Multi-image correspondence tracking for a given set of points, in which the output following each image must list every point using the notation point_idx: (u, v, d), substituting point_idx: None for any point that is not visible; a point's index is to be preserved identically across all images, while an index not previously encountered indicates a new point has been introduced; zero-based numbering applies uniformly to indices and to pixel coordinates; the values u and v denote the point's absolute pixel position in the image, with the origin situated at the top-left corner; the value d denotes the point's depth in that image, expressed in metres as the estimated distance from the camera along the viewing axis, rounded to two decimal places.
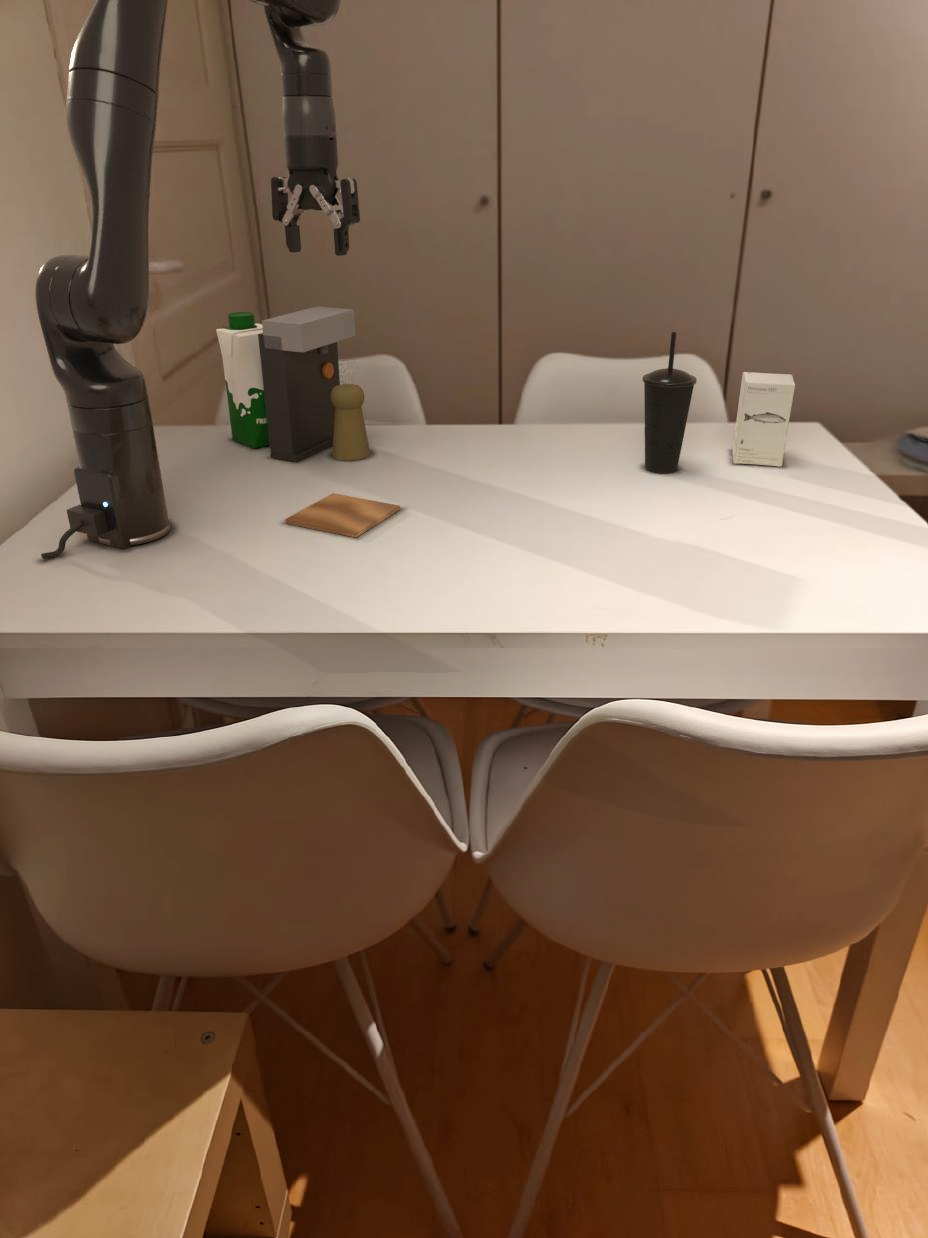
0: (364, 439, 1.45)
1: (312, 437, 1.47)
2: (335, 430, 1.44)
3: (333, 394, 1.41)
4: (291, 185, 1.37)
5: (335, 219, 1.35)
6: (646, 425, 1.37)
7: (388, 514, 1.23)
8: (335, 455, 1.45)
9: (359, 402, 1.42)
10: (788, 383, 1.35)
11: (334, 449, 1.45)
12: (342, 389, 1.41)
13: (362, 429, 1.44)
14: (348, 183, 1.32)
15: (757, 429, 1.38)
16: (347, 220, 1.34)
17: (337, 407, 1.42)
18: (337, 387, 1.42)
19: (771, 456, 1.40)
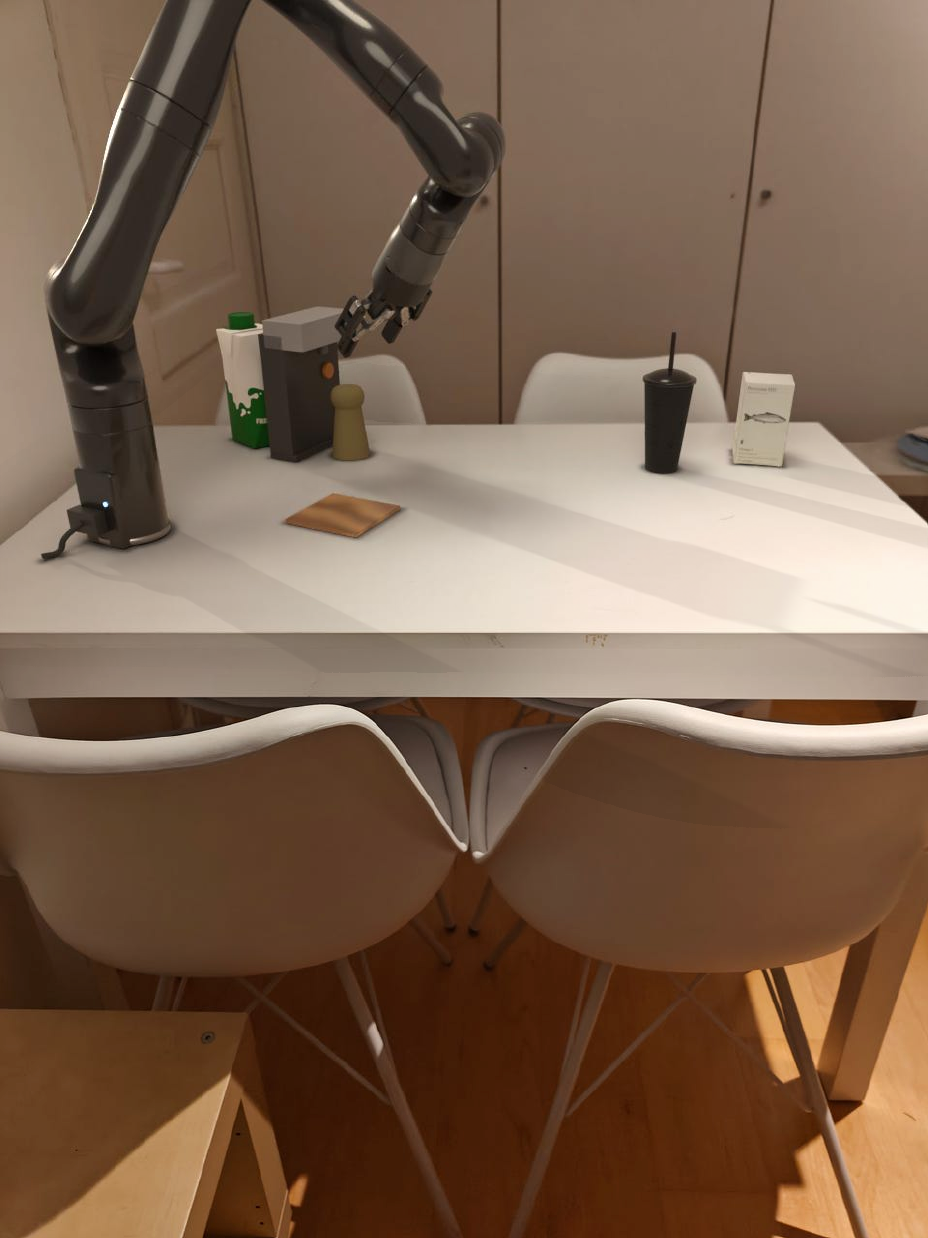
0: (364, 439, 1.45)
1: (312, 437, 1.47)
2: (335, 430, 1.44)
3: (333, 394, 1.41)
4: None
5: None
6: (646, 425, 1.37)
7: (388, 514, 1.23)
8: (335, 455, 1.45)
9: (360, 402, 1.42)
10: (788, 383, 1.35)
11: (334, 449, 1.45)
12: (342, 389, 1.41)
13: (362, 429, 1.44)
14: (350, 301, 1.20)
15: (757, 429, 1.38)
16: (336, 324, 1.24)
17: (337, 407, 1.42)
18: (337, 387, 1.42)
19: (771, 456, 1.40)
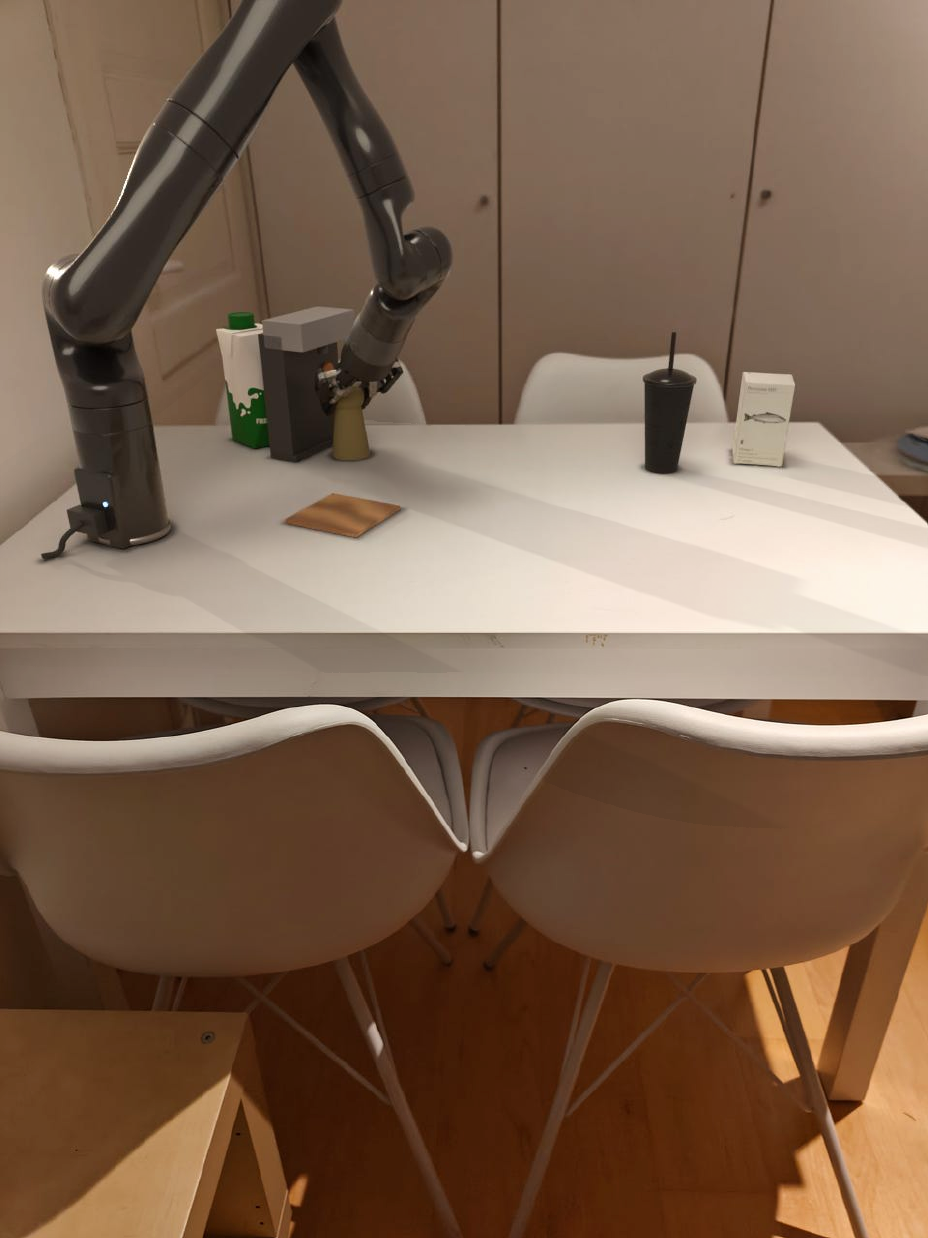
0: (364, 439, 1.45)
1: (312, 437, 1.47)
2: (335, 430, 1.44)
3: None
4: None
5: None
6: (646, 425, 1.37)
7: (388, 514, 1.23)
8: (335, 455, 1.45)
9: (360, 402, 1.42)
10: (788, 383, 1.35)
11: (334, 449, 1.45)
12: None
13: (362, 429, 1.44)
14: (316, 373, 1.34)
15: (757, 429, 1.38)
16: None
17: (337, 407, 1.42)
18: None
19: (771, 456, 1.40)
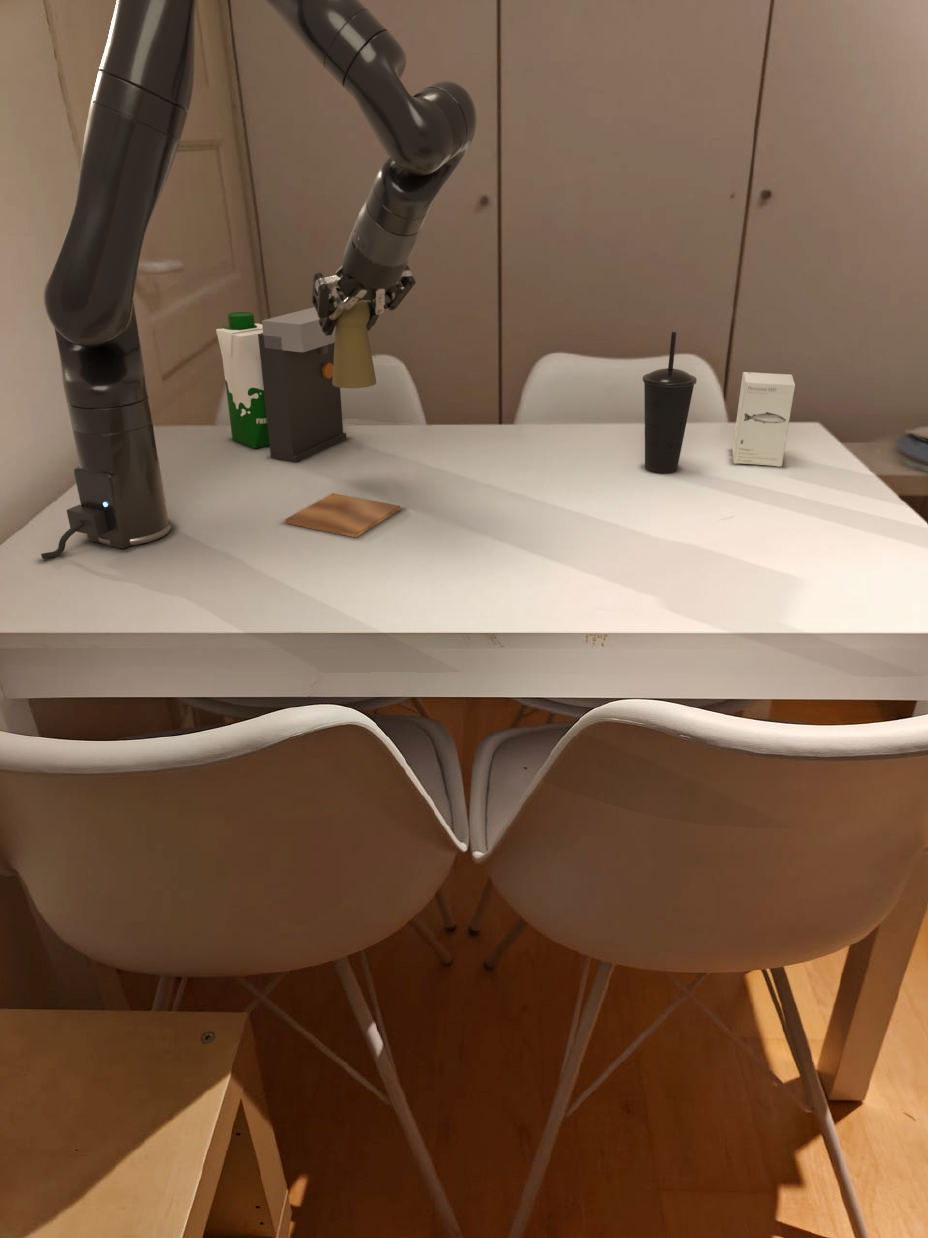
0: (369, 363, 1.25)
1: (312, 437, 1.47)
2: (336, 353, 1.24)
3: None
4: None
5: None
6: (646, 425, 1.37)
7: (388, 514, 1.23)
8: (336, 383, 1.25)
9: (365, 319, 1.22)
10: (788, 383, 1.35)
11: (335, 376, 1.25)
12: None
13: (367, 352, 1.24)
14: (314, 279, 1.14)
15: (757, 429, 1.38)
16: None
17: (338, 325, 1.22)
18: None
19: (771, 456, 1.40)
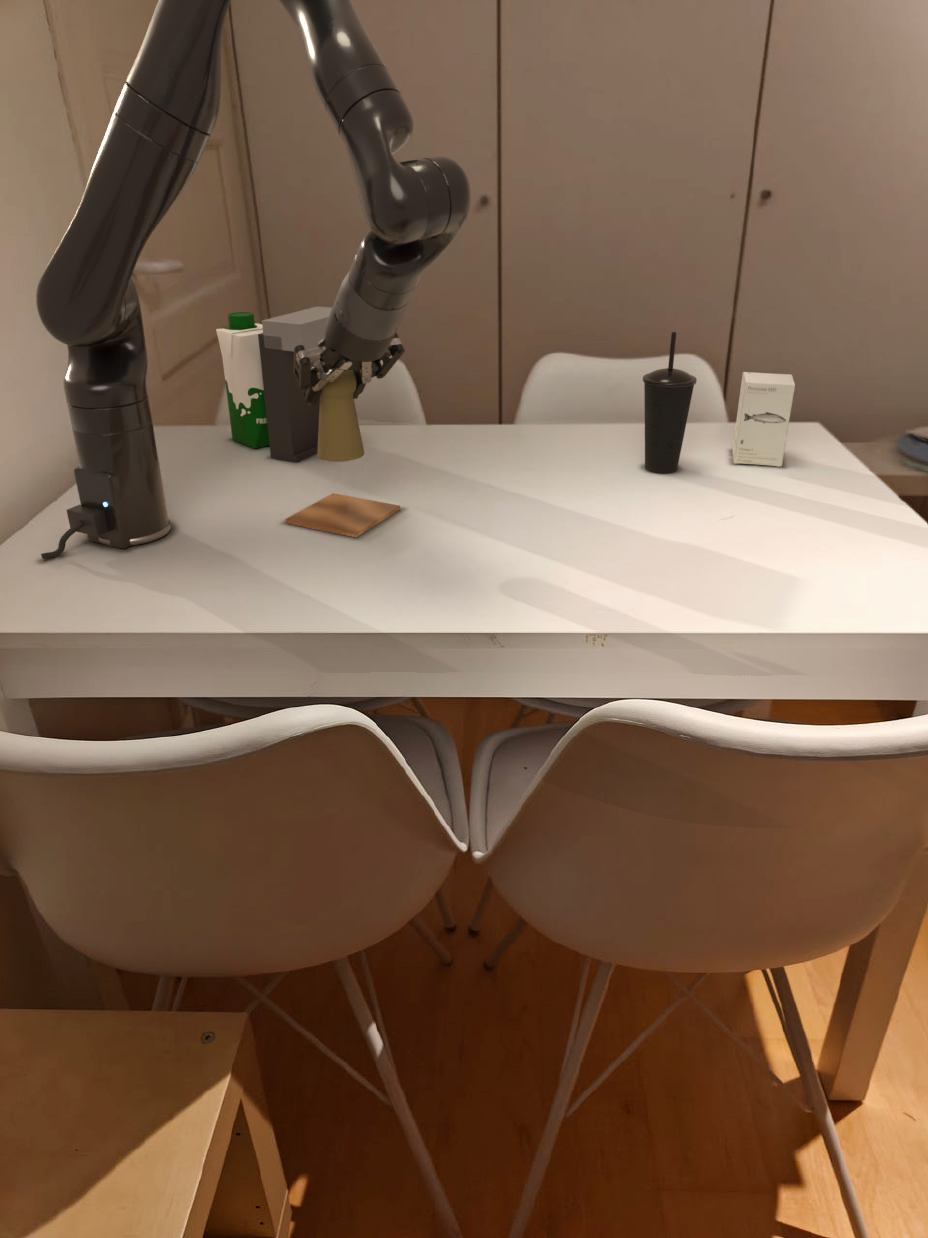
0: (356, 435, 1.17)
1: (312, 437, 1.47)
2: (321, 424, 1.16)
3: None
4: None
5: None
6: (646, 425, 1.37)
7: (388, 514, 1.23)
8: (321, 455, 1.18)
9: (351, 389, 1.14)
10: (788, 383, 1.35)
11: (320, 448, 1.17)
12: None
13: (354, 423, 1.16)
14: (294, 351, 1.06)
15: (757, 429, 1.38)
16: None
17: (323, 395, 1.14)
18: None
19: (771, 456, 1.40)
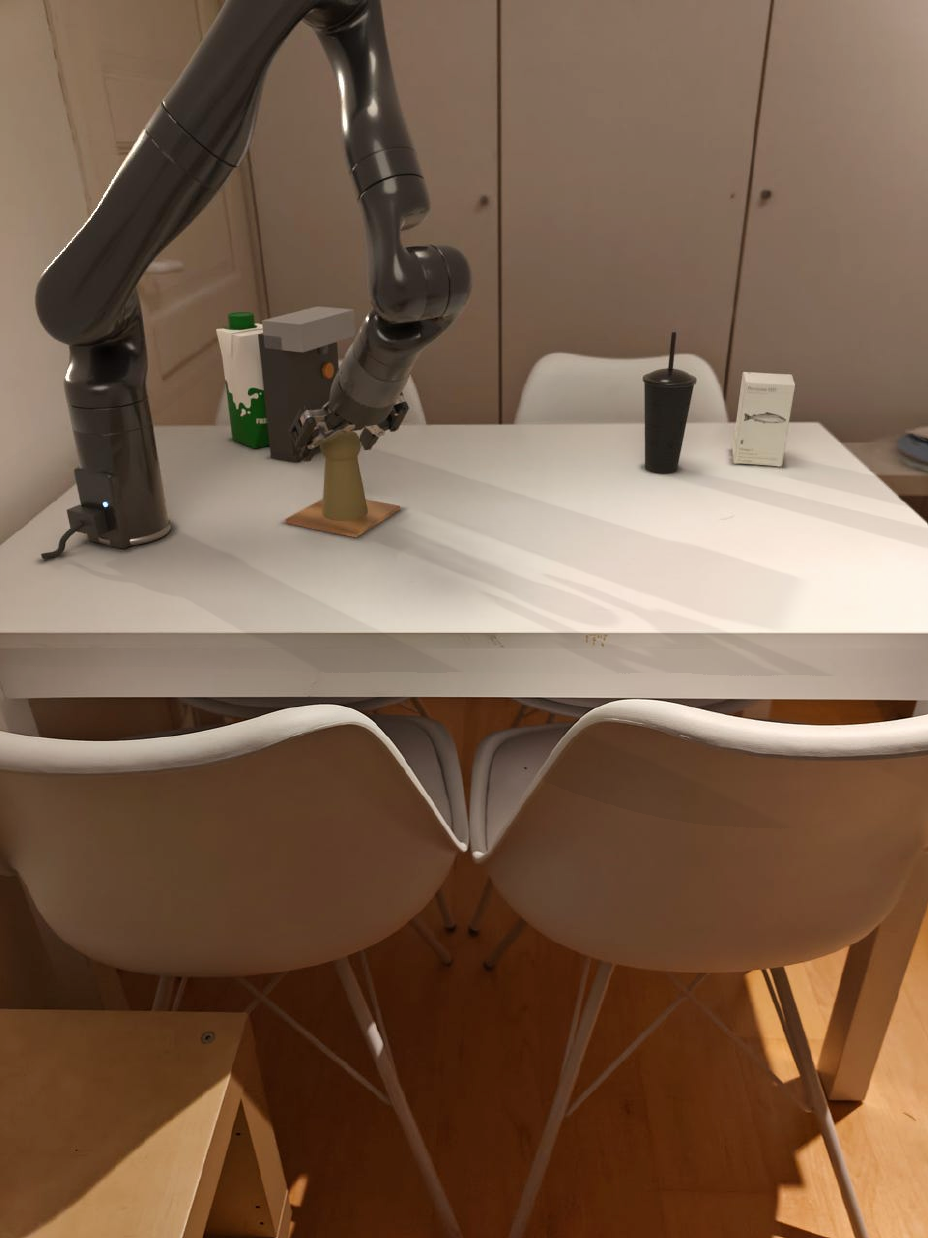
0: (360, 495, 1.21)
1: None
2: (326, 485, 1.20)
3: (323, 442, 1.17)
4: None
5: None
6: (646, 425, 1.37)
7: (388, 514, 1.23)
8: (326, 514, 1.21)
9: (355, 452, 1.18)
10: (788, 383, 1.35)
11: (324, 507, 1.21)
12: None
13: (358, 483, 1.20)
14: (300, 410, 1.09)
15: (757, 429, 1.38)
16: None
17: (328, 458, 1.18)
18: None
19: (771, 456, 1.40)
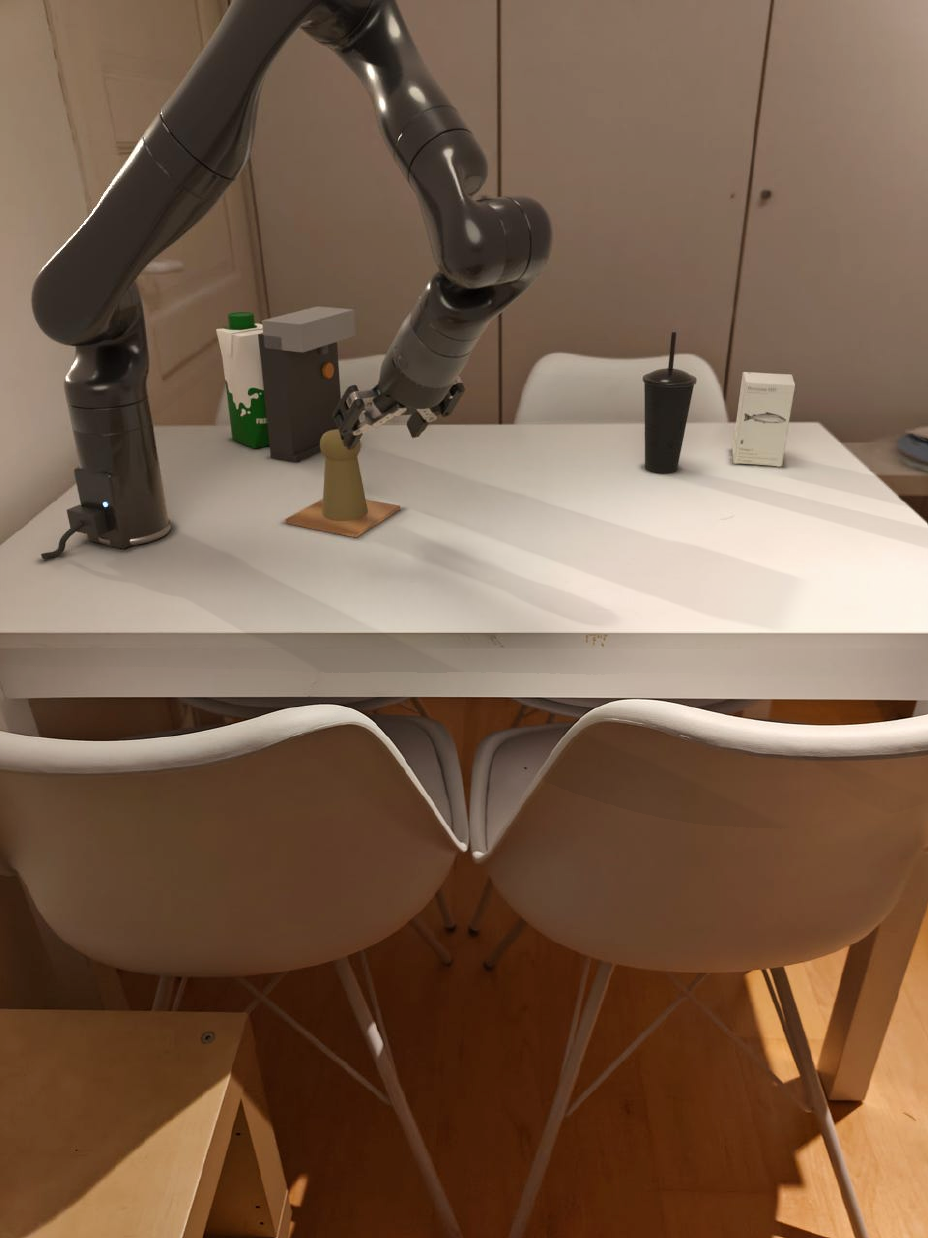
0: (360, 495, 1.21)
1: (312, 437, 1.47)
2: (326, 485, 1.20)
3: (323, 442, 1.17)
4: None
5: None
6: (646, 425, 1.37)
7: (388, 514, 1.23)
8: (326, 514, 1.21)
9: (355, 452, 1.18)
10: (788, 383, 1.35)
11: (324, 507, 1.21)
12: (334, 436, 1.17)
13: (358, 483, 1.20)
14: (347, 391, 0.97)
15: (757, 429, 1.38)
16: None
17: (328, 458, 1.18)
18: (328, 434, 1.17)
19: (771, 456, 1.40)
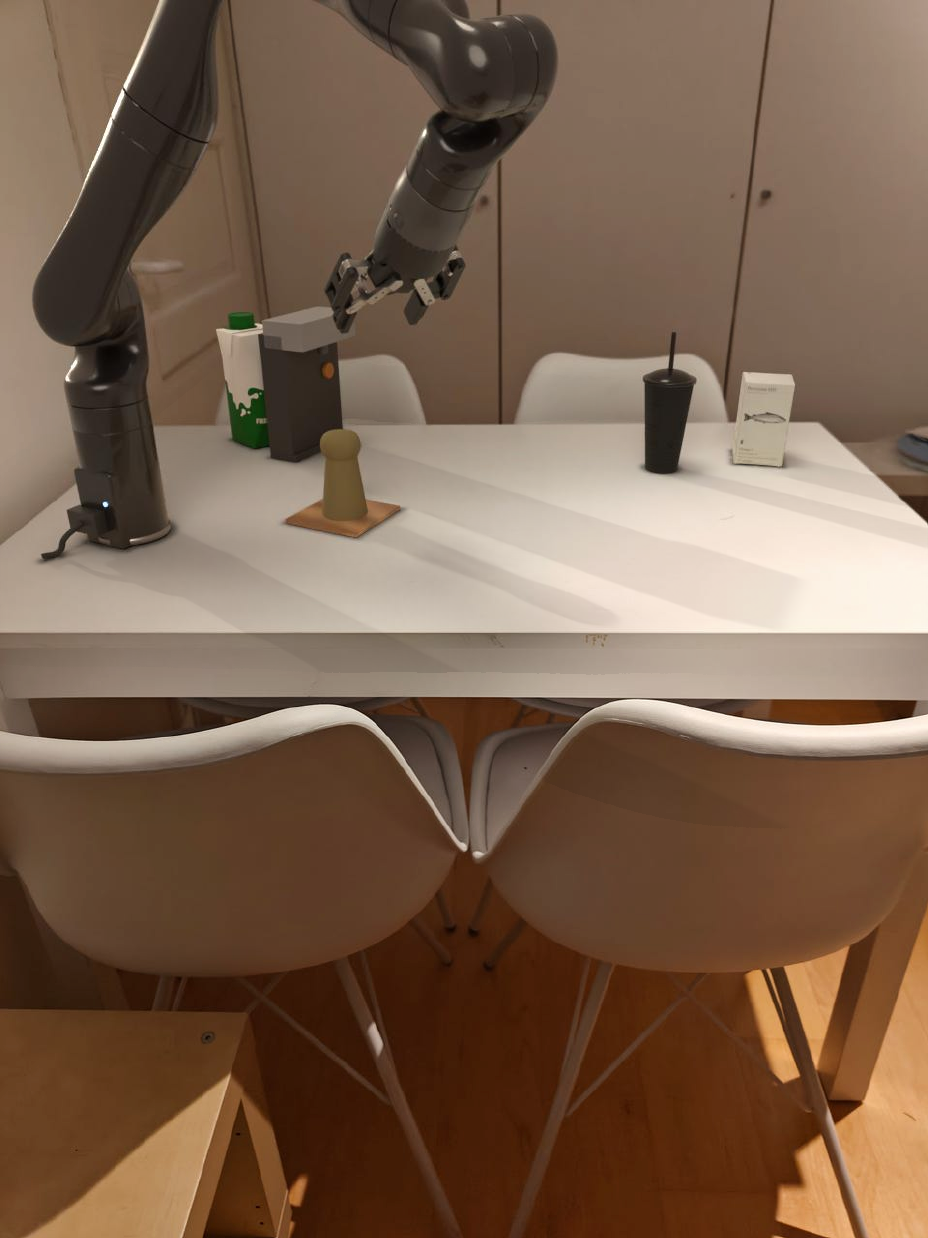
0: (360, 495, 1.21)
1: (312, 437, 1.47)
2: (326, 485, 1.20)
3: (323, 442, 1.17)
4: None
5: None
6: (646, 425, 1.37)
7: (388, 514, 1.23)
8: (326, 514, 1.21)
9: (355, 452, 1.18)
10: (788, 383, 1.35)
11: (324, 507, 1.21)
12: (334, 436, 1.17)
13: (358, 483, 1.20)
14: (339, 259, 0.91)
15: (757, 429, 1.38)
16: None
17: (328, 458, 1.18)
18: (328, 434, 1.17)
19: (771, 456, 1.40)
